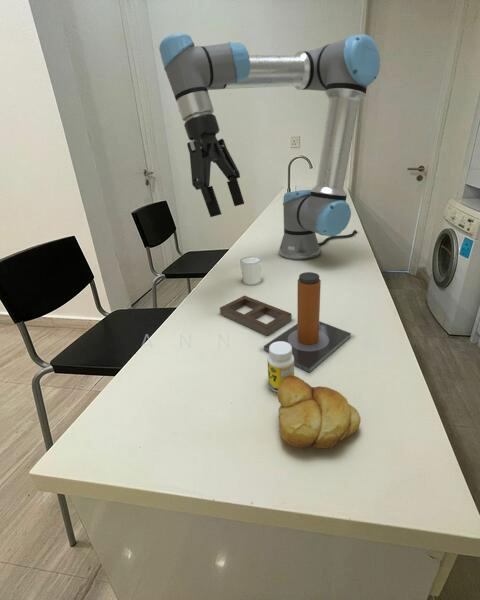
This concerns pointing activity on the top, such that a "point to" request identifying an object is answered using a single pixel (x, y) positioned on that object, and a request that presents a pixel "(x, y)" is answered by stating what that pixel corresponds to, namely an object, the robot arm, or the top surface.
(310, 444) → the bread roll
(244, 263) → the white short cylinder
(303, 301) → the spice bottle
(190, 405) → the top surface
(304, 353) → the hob plate
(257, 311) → the frame
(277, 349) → the supplement bottle
